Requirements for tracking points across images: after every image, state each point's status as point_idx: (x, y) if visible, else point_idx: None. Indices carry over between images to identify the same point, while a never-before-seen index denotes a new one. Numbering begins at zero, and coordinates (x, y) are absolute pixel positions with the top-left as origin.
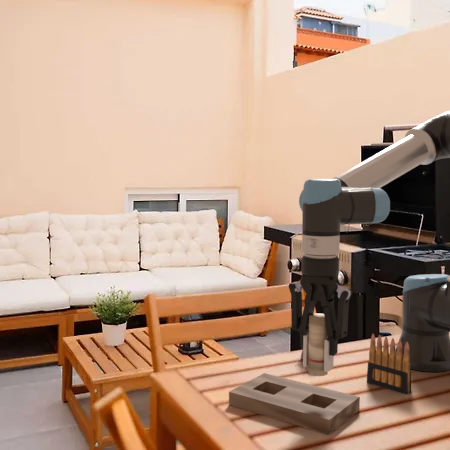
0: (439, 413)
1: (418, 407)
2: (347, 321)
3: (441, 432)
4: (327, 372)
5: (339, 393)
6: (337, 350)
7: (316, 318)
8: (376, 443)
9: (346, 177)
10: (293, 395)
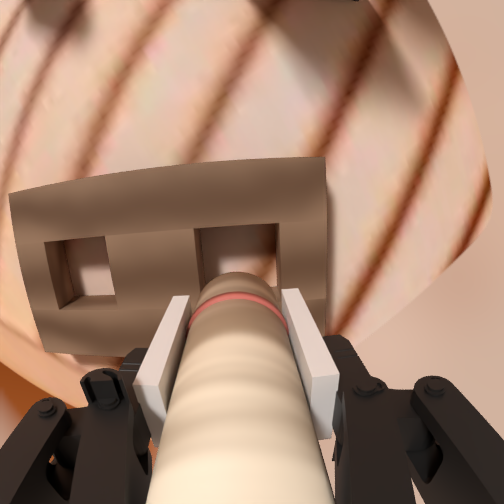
0: (453, 73)
1: (412, 60)
2: (501, 448)
3: (482, 166)
4: (276, 298)
5: (260, 171)
6: (352, 346)
7: None
8: (408, 295)
9: None
10: (158, 280)
